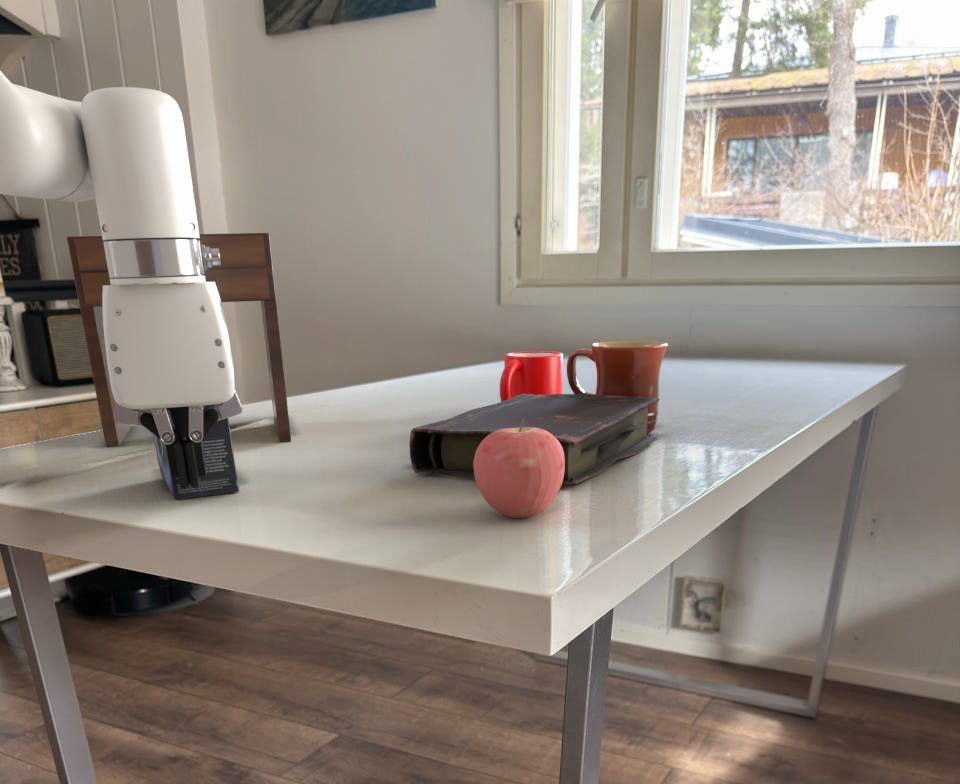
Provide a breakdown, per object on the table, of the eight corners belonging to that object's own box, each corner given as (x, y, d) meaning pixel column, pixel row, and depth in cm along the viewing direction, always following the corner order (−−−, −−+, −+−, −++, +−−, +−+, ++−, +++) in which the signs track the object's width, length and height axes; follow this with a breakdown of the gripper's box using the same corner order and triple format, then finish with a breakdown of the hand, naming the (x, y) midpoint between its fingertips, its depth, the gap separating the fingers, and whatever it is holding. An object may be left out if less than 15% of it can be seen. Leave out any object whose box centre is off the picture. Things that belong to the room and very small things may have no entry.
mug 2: (671, 428, 109) (676, 341, 105) (650, 441, 102) (654, 348, 98) (579, 423, 115) (581, 339, 111) (553, 435, 107) (554, 346, 103)
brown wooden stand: (291, 441, 108) (269, 232, 99) (107, 454, 103) (66, 236, 94) (285, 423, 120) (264, 236, 111) (120, 433, 116) (85, 239, 107)
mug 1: (479, 420, 118) (477, 358, 115) (522, 407, 128) (521, 350, 125) (531, 424, 115) (531, 361, 112) (571, 410, 124) (572, 351, 121)
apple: (575, 507, 76) (576, 412, 73) (550, 530, 70) (550, 427, 67) (493, 501, 79) (492, 409, 76) (462, 523, 73) (459, 424, 69)
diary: (408, 475, 89) (405, 424, 87) (516, 432, 110) (516, 390, 108) (581, 492, 81) (582, 436, 79) (663, 442, 101) (666, 397, 99)
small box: (157, 478, 91) (139, 371, 87) (222, 471, 93) (208, 367, 89) (170, 501, 82) (151, 383, 78) (241, 492, 84) (227, 377, 80)
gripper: (248, 262, 78) (273, 470, 85) (66, 268, 75) (108, 483, 82) (249, 262, 71) (276, 487, 79) (49, 268, 68) (97, 502, 76)
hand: (190, 484), depth 80 cm, fingers closed
